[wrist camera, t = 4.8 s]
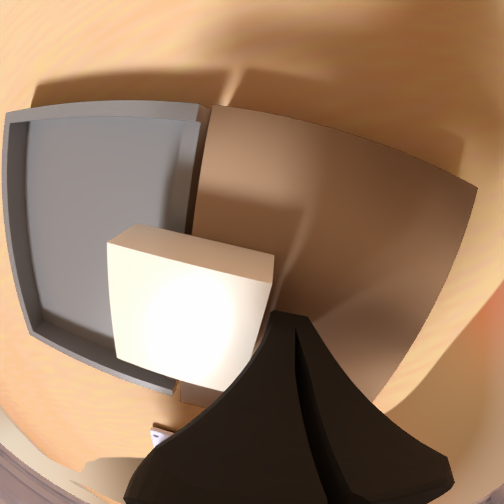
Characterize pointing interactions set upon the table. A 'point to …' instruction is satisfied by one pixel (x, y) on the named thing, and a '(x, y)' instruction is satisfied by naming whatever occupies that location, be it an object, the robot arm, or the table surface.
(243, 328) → the tile
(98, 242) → the tray
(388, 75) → the table surface
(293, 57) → the table surface
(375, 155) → the board
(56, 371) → the table surface
